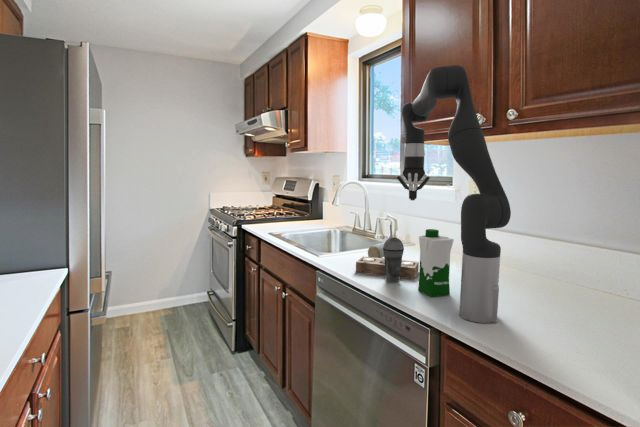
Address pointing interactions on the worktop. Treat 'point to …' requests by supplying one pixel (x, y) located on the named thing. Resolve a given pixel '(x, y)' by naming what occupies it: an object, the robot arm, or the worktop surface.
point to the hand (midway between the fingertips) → (412, 200)
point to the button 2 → (407, 263)
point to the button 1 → (368, 259)
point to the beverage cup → (393, 258)
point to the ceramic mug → (376, 250)
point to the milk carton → (434, 263)
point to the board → (379, 268)
